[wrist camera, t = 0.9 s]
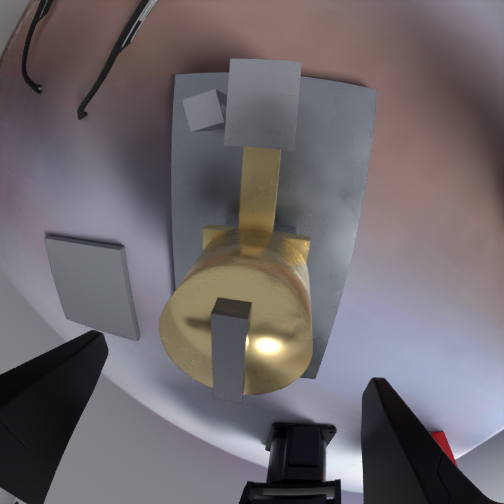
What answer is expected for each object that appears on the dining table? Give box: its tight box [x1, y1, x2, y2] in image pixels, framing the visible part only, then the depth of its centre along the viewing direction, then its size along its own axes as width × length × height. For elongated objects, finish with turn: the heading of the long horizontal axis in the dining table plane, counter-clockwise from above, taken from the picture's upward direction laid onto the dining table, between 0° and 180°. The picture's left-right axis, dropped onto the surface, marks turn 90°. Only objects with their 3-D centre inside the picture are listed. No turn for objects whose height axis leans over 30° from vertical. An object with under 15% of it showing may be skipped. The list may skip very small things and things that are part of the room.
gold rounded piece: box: [159, 146, 313, 403], centre depth 10 cm, size 10×5×6 cm, turn 176°
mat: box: [44, 235, 140, 341], centre depth 19 cm, size 8×8×1 cm
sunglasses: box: [22, 0, 158, 120], centre depth 10 cm, size 10×12×5 cm
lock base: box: [171, 59, 377, 379], centre depth 14 cm, size 19×10×5 cm, turn 176°
